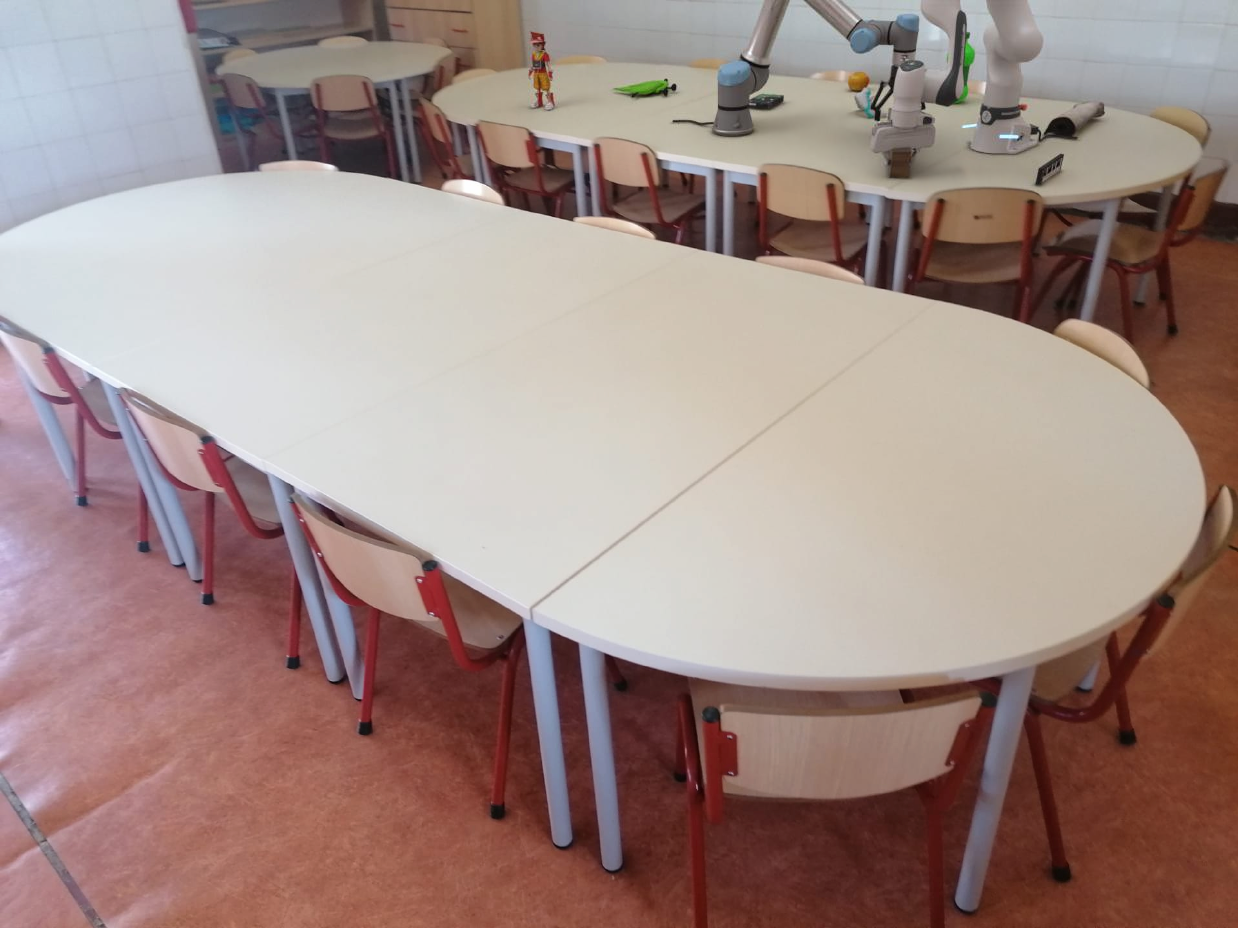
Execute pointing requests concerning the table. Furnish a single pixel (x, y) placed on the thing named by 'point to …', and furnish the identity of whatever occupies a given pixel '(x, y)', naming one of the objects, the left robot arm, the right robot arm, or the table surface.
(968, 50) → the plastic bottle
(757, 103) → the disk drive
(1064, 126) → the rolled mat
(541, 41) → the toy
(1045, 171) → the midi keyboard
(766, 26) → the left robot arm
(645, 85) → the toy
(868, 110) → the anatomical model
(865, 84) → the fruit
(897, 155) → the post
